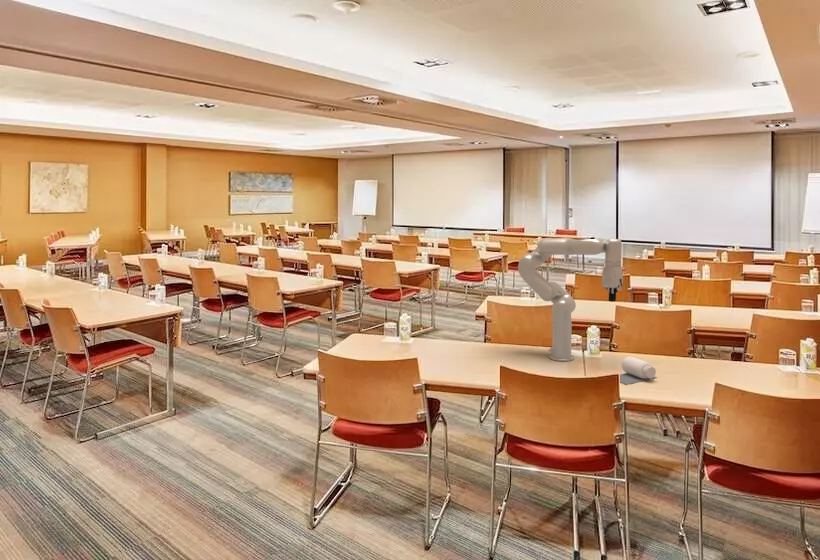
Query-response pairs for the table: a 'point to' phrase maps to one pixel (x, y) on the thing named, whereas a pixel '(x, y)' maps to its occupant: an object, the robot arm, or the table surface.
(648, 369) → the pill bottle
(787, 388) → the table surface
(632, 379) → the mat
